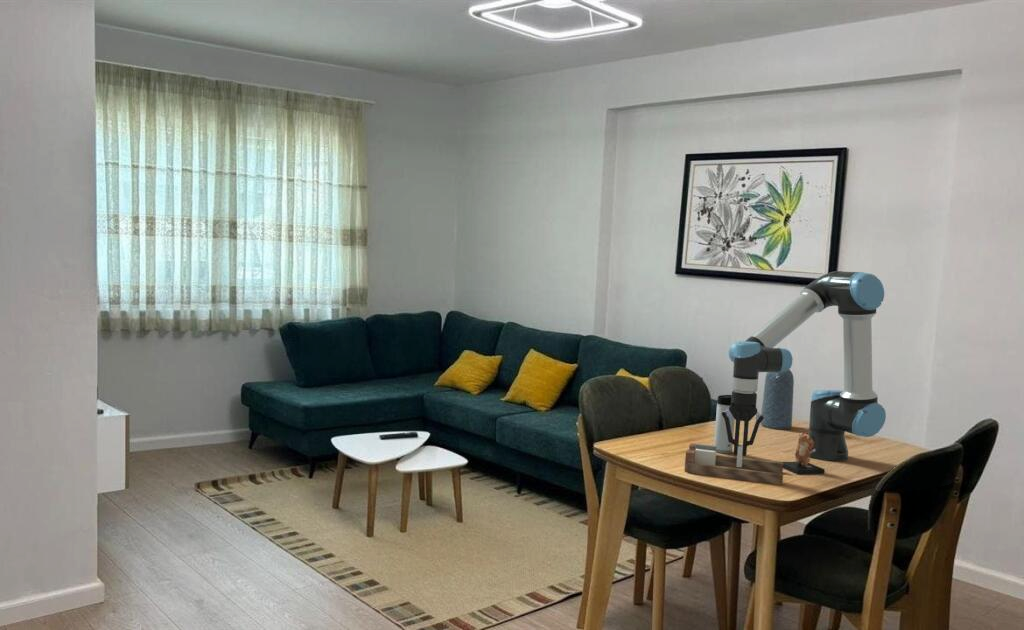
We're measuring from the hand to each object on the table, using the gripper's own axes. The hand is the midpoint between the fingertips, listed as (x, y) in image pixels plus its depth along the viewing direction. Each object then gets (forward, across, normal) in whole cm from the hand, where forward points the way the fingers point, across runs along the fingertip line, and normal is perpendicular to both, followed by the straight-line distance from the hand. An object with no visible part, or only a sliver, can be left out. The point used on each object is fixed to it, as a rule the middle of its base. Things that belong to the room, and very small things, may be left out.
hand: (739, 465), depth 264 cm
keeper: (+2, +10, 0) cm, 11 cm away
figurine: (+3, -19, -15) cm, 24 cm away
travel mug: (+2, +7, -27) cm, 28 cm away
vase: (+3, -9, -86) cm, 87 cm away
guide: (+2, +1, 0) cm, 2 cm away
